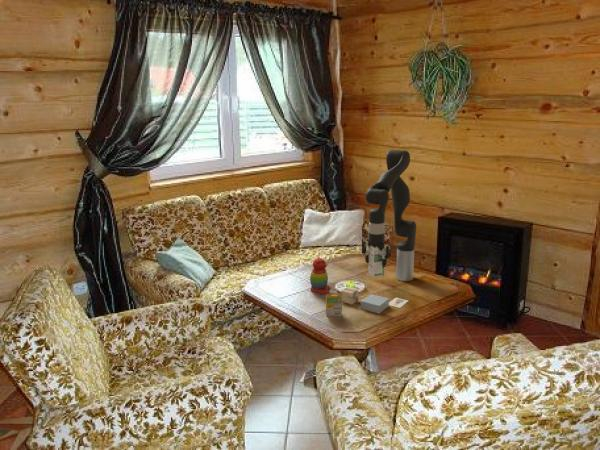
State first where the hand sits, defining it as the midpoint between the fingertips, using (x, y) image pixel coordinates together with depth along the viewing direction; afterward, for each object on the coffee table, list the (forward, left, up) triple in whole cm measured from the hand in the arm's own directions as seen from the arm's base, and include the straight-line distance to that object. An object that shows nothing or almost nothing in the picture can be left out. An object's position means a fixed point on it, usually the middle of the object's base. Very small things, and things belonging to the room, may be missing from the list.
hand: (375, 264), depth 238 cm
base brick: (0, 0, -22) cm, 22 cm away
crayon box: (+18, -12, -22) cm, 31 cm away
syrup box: (0, 0, -6) cm, 6 cm away
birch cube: (0, -14, -22) cm, 26 cm away
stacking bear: (-3, -34, -22) cm, 41 cm away
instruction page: (-11, +7, -22) cm, 26 cm away
